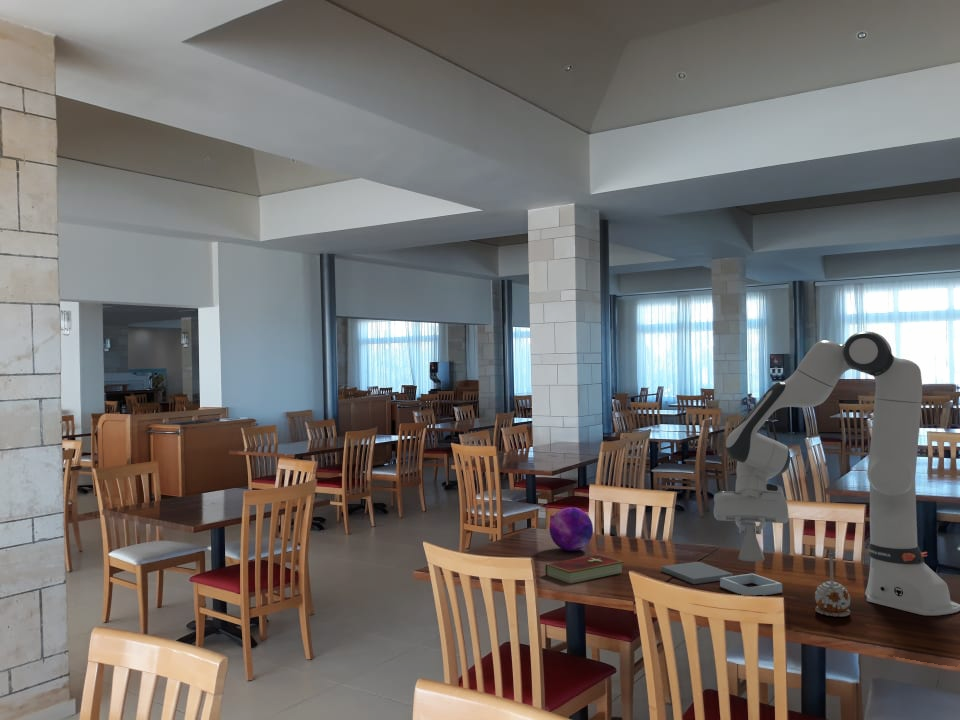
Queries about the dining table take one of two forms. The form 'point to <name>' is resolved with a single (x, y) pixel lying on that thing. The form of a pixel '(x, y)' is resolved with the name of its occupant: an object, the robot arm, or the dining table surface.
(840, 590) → the decorative ornament
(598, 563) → the hardcover book
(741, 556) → the flask
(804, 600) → the dining table surface
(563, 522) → the decorative orb
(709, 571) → the slate board
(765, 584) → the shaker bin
